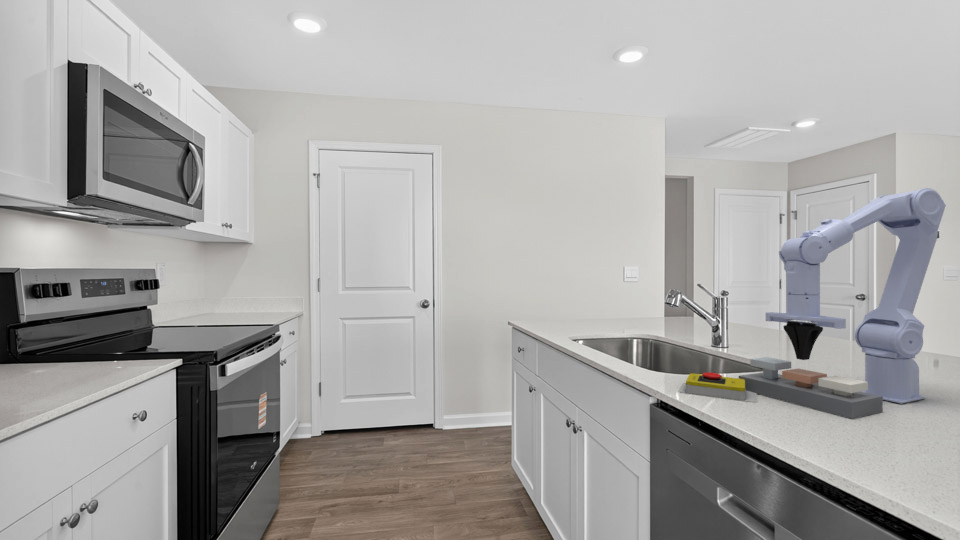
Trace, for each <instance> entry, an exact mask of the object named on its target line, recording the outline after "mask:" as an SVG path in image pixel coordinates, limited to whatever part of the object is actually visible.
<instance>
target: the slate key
mask: <svg viewBox="0 0 960 540" xmlns="http://www.w3.org/2000/svg"><path fill="white" fill-rule="evenodd" d="M750 366H751V367H756V368H761V369H762V371H763V378H768V379H772V380H774V379H778V374H779V371H781V370H782V371H784V370H791V369H792V361H789V360H784V359H779V358H773V357H769V356H764V357H763V356H762V357H754V358H750Z"/></svg>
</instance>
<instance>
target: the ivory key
mask: <svg viewBox="0 0 960 540" xmlns="http://www.w3.org/2000/svg"><path fill="white" fill-rule="evenodd" d="M818 386H821V387H826V388H830V389H834V394H838V395H842V396H852V393H854V392H860V391H865V390H868V382H865V380H864V381H863V380H859V379H854V378H849V377H844V376H838V375H831V376H827V377H824V378H818Z"/></svg>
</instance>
